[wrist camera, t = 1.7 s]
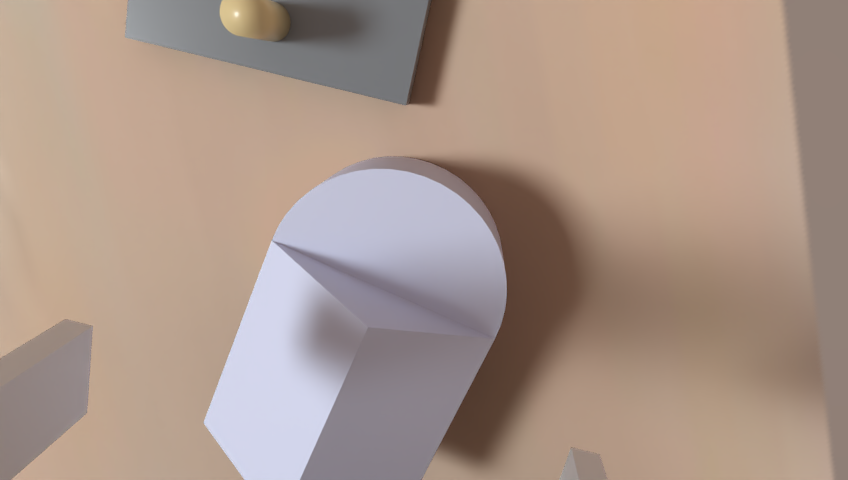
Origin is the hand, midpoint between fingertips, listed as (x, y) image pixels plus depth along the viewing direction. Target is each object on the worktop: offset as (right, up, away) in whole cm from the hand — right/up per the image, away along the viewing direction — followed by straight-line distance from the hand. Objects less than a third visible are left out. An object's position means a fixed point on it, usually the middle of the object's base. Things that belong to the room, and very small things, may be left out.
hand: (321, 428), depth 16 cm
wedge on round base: (+1, +2, +10) cm, 10 cm away
